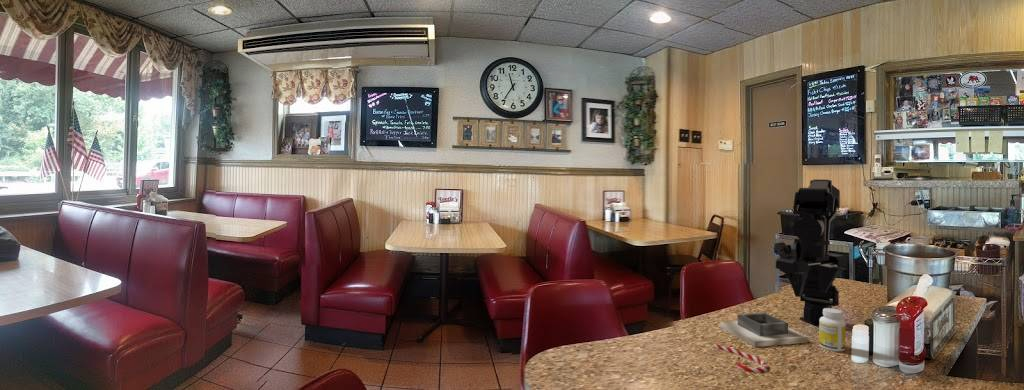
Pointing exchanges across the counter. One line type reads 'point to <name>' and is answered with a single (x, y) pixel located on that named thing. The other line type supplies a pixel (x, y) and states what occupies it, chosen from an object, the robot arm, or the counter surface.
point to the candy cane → (749, 369)
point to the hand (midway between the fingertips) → (810, 294)
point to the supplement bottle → (832, 330)
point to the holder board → (763, 330)
